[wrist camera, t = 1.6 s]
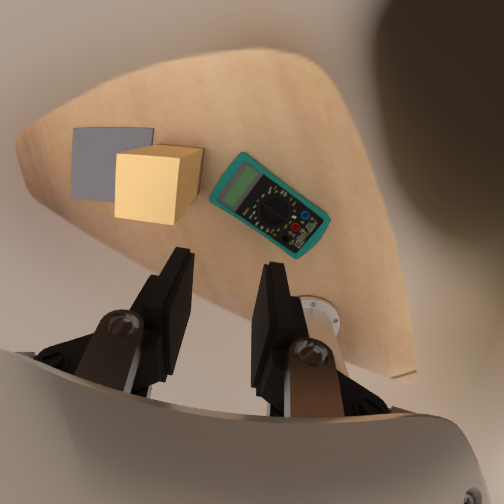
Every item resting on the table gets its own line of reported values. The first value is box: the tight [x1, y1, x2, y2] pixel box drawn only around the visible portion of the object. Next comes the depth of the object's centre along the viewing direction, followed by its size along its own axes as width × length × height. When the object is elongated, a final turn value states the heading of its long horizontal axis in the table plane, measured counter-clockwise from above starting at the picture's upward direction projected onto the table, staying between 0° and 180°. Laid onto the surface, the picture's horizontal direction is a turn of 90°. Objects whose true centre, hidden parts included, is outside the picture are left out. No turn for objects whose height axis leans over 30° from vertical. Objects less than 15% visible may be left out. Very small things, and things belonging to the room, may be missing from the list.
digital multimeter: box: [209, 152, 331, 259], centre depth 34 cm, size 7×15×3 cm, turn 54°
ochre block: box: [115, 144, 205, 225], centre depth 28 cm, size 6×6×12 cm
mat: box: [71, 127, 154, 202], centre depth 32 cm, size 10×13×1 cm
